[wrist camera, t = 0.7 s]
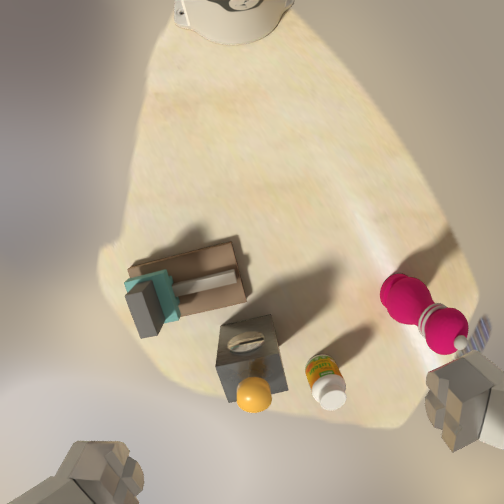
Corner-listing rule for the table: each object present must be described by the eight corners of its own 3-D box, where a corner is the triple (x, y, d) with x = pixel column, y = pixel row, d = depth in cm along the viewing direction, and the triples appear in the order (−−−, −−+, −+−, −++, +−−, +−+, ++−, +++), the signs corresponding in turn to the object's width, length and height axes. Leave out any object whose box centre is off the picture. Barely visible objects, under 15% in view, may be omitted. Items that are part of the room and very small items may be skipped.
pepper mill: (385, 265, 49) (456, 312, 29) (420, 275, 49) (494, 321, 30) (370, 307, 50) (430, 370, 31) (405, 314, 51) (469, 373, 31)
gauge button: (233, 380, 36) (232, 390, 34) (266, 373, 36) (267, 383, 34) (241, 405, 37) (241, 415, 35) (273, 398, 37) (274, 408, 35)
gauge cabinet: (219, 322, 50) (214, 363, 38) (269, 310, 49) (278, 349, 38) (230, 357, 51) (228, 402, 39) (278, 346, 51) (288, 390, 39)
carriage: (131, 275, 46) (111, 294, 37) (168, 266, 46) (153, 284, 37) (146, 318, 47) (130, 344, 39) (182, 310, 47) (171, 336, 39)
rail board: (130, 266, 47) (124, 272, 44) (231, 241, 47) (230, 245, 44) (148, 319, 49) (143, 327, 46) (246, 298, 49) (246, 305, 46)
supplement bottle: (326, 347, 51) (342, 380, 42) (340, 368, 52) (356, 401, 43) (298, 364, 52) (309, 398, 42) (313, 384, 53) (325, 419, 43)
